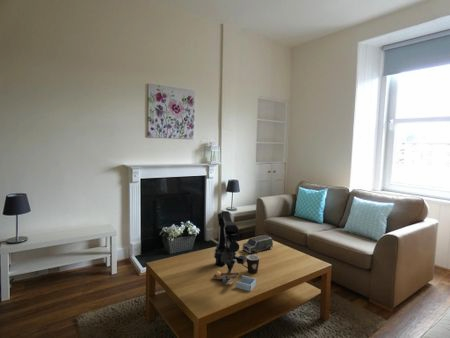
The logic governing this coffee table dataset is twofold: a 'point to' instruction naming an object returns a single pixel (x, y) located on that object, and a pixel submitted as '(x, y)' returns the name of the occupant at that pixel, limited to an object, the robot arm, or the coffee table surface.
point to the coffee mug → (252, 264)
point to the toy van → (258, 244)
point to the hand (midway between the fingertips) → (230, 271)
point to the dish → (246, 283)
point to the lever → (228, 276)
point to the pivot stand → (225, 278)
